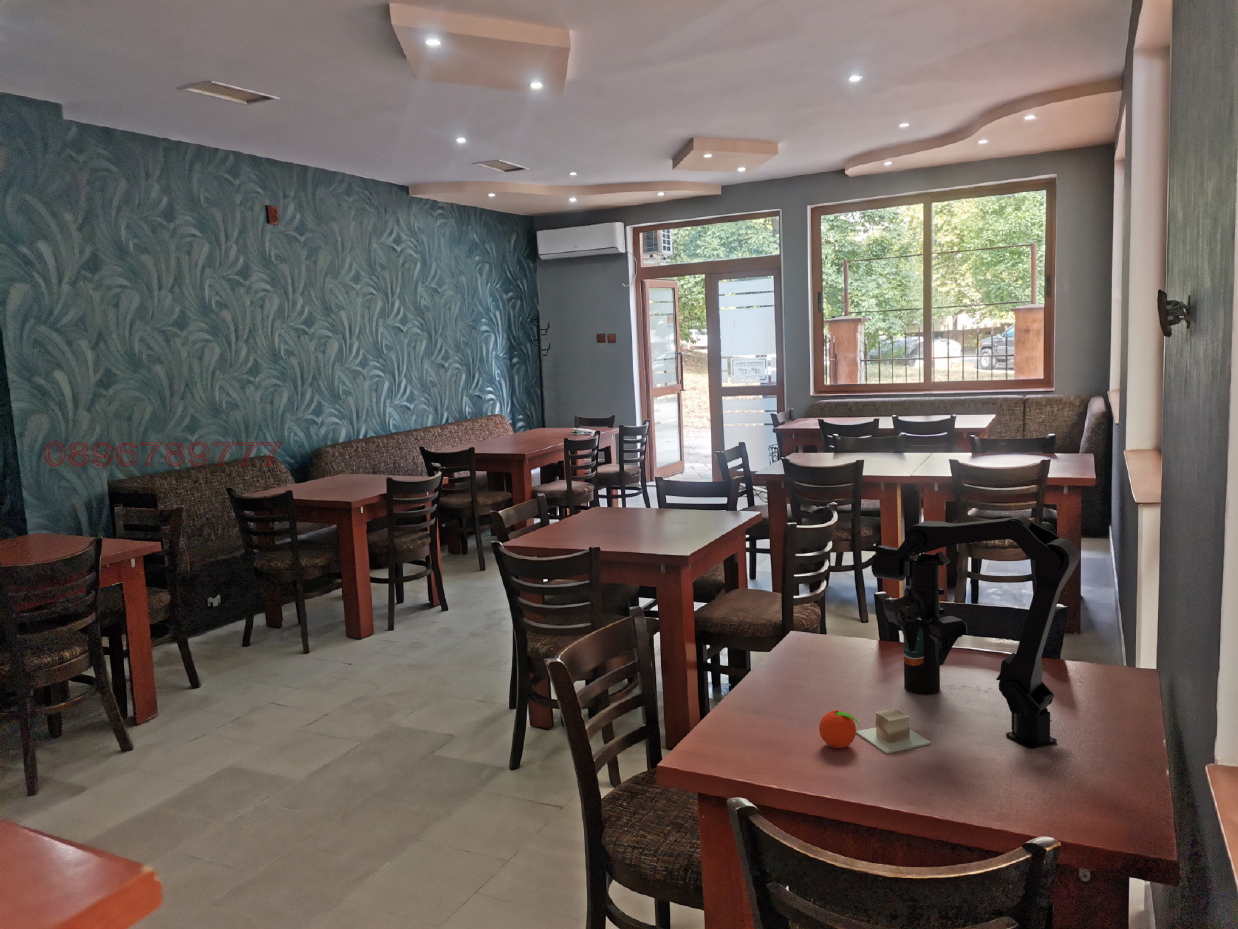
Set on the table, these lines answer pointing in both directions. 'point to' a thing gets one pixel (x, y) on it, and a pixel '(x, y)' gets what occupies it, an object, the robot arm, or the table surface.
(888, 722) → the sandy foam cube
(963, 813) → the table surface
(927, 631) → the wine bottle
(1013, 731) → the robot arm
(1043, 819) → the table surface
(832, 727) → the clementine
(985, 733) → the table surface
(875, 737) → the pad
